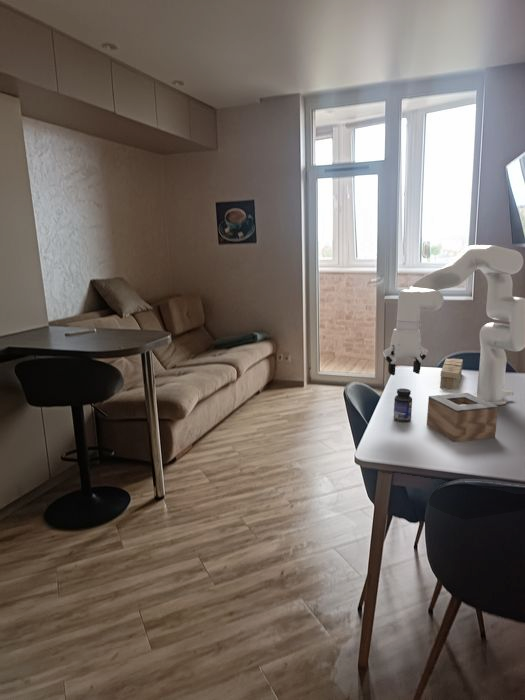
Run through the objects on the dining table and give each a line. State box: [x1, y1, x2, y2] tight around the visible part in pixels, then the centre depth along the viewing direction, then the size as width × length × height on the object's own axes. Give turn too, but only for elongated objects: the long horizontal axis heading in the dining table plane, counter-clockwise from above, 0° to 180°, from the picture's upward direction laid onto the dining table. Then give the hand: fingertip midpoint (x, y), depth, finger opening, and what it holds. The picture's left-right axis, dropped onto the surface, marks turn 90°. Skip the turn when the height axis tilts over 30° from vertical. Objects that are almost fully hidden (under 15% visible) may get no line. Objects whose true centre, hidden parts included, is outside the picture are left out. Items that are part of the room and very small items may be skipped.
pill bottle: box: [393, 388, 413, 423], centre depth 174 cm, size 6×6×11 cm
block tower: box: [439, 358, 464, 390], centre depth 224 cm, size 8×8×29 cm
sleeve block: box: [426, 392, 499, 443], centre depth 163 cm, size 15×15×11 cm
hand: (404, 373), depth 171 cm, fingers open, 9 cm apart
